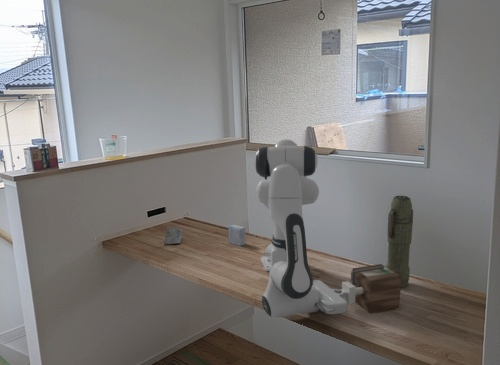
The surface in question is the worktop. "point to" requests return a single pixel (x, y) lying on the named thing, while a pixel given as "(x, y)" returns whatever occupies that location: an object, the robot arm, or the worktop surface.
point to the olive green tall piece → (400, 237)
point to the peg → (351, 288)
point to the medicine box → (236, 235)
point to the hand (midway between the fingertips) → (345, 293)
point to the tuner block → (378, 289)
